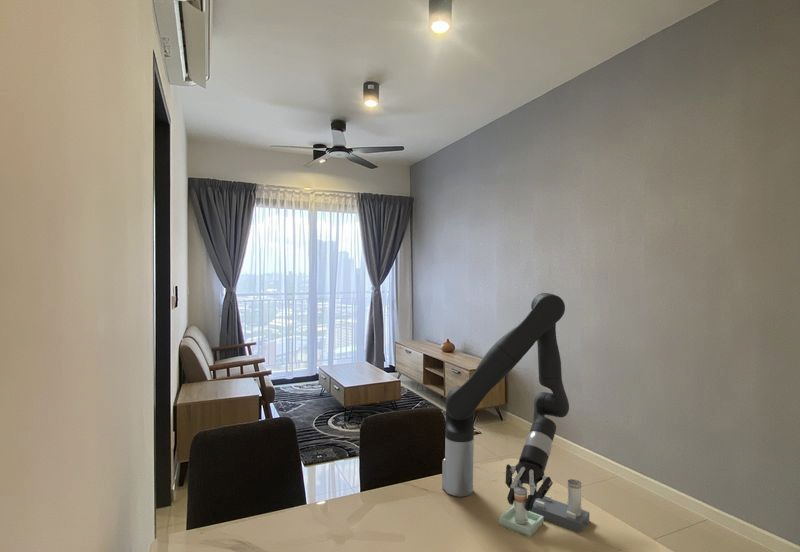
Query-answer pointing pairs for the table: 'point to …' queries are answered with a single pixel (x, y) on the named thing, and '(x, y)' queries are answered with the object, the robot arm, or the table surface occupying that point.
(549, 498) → the fuse holder
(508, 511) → the tray
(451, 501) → the table surface
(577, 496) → the plain fuse
